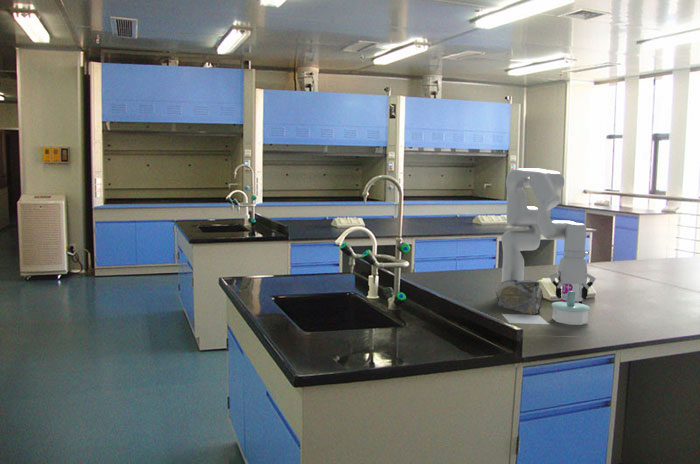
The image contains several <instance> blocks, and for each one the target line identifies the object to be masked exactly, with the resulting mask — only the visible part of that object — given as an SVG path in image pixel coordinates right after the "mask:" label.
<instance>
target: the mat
mask: <svg viewBox="0 0 700 464" xmlns="http://www.w3.org/2000/svg"><path fill="white" fill-rule="evenodd" d="M501 315H502V316H503V317H504V319H505V320H506V321H507V322H508V323H509V324H518V325H519V324H522V325H524V324H525V325H526V324H527V325H550V323H549V322H547V321H546V320H545V319H544V318H543V317H542V316H541V315H538V314H533V315H530V314H513V313H511V314H510V313H501Z"/></svg>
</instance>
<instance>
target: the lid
mask: <svg viewBox="0 0 700 464" xmlns="http://www.w3.org/2000/svg"><path fill="white" fill-rule="evenodd" d="M551 307H552V309H553V308H555V309H559V310H563V311H570V312H586V311H588V312H589V311H591V310H590V309H591V307H590V306H589V305H587V304H584V303H582V304H580V303H575V291H568V295H567V302H561V301H554V302H552V303H551Z"/></svg>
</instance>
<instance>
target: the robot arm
mask: <svg viewBox="0 0 700 464" xmlns="http://www.w3.org/2000/svg"><path fill="white" fill-rule="evenodd" d="M564 185H565V178H564V175H563V174H562V173H561V172H559V171H557V170H552V169H545V168H529V167H528V168H527V167H525V168H523V167H522V168H515V169H512V170H510V171H509V172H508V174H507V176H506V179H505V186H506V192H507V193H506V194H507V203H506V223H507V225H508V226H509V227H512V228H526V229H510V230H507V231H504V233H502V236H501V248H502V268H501V271H502V273H501V274H502V275H501V282H504V281H507V280H514V279H515V280H518V281H522V280H524V274H525V273H524V272H525V259H524V256H523V255H522V253H521V252H523V251H535V250H537V249H538V248H539V247H540V244H541V237H542V236H543V237H544V238H545V239H546V240H550V241H551V240H562V241H563V240H564V243H563V244H564V245H563V246H564V248H563V257H560V260H559V266H558V272H556V273H554V274H552V275H549V279H550V281H551V283H552V284H553V285H554V287H555V296H556V298H558V299H561V298H562V285H563V284H582V286H583V288H582V296H581V297H582V298H583V299H582V300H587V297H588V294H589V293H588V292H589V289H590V288H591V286H593V284H594V282H595V281H596V279H597V278H596V277H594V276H593V275H592V274H589V273H588V265H587V264H588V263H587V258H586V256H588V255H589V252H587V251H586V240H587V239H586V238H587V226H586V224H585V223H581V222H575V221H572V220H552V219H551V218H550V216H549V213H548V211H550V210H552V209H554V208H555V207H557V206H558V205H559V204H560V202H561V197H560V194H559V193H558V191H561V190H563V188H564ZM524 188H528V189H529V188H530V189H532V191H533V193H534V195H535V198H536V200H537V202H538V204H539V207H537V206H532V205H531V206H530V205H529V206H528V202H527V201H528V197H527V193H526V191H525V189H524ZM556 278H557V281H556ZM588 279H589V281H588Z"/></svg>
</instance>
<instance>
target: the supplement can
mask: <svg viewBox="0 0 700 464" xmlns="http://www.w3.org/2000/svg"><path fill="white" fill-rule="evenodd" d="M582 288H583V286H582V284H563V285H562V286H561V289H562V290H561V298H560V299H561V301H560V302H567V295H568V291H575V303H580V304H583V300H584V299H583V298H582V297H581V296H582Z"/></svg>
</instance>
